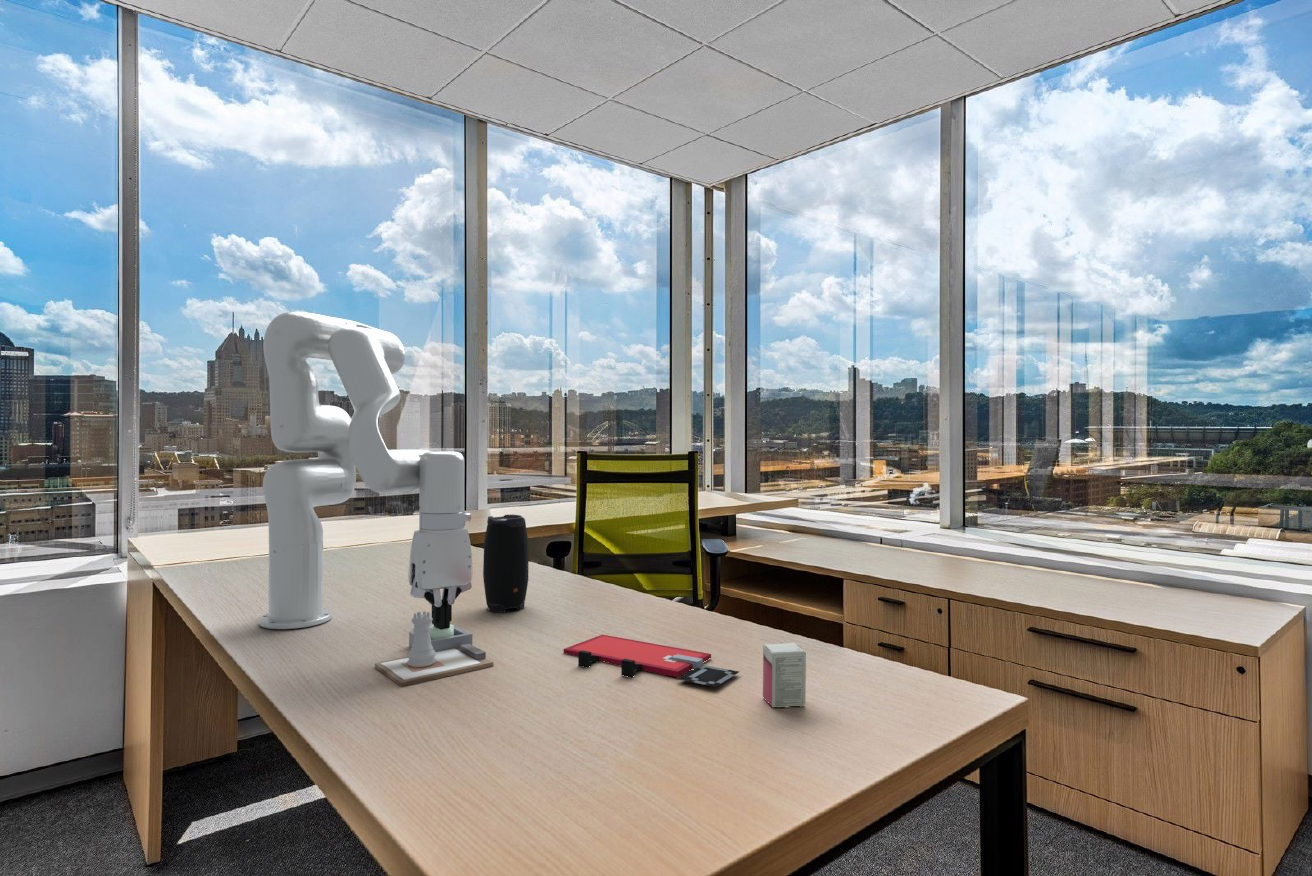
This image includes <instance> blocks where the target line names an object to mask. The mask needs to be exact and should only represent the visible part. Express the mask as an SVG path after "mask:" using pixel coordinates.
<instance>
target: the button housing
mask: <svg viewBox="0 0 1312 876" xmlns="http://www.w3.org/2000/svg"><path fill="white" fill-rule="evenodd" d="M450 624H451V623H450ZM451 625H453V626H454V636H450V637H445V638H440V639H434V640H431V645H432V646H433V649H434V650H435V652H439V651H444V650H449V649H454V648H460V645H465V644H471V645H473V633H471V632H469V631H467V630H465V629H463V628H461V627H458V626H457V625H455V624H453V623H452V624H451ZM408 635H409V636H408V646H409V647H410V648H411V647H412V645H413V640H414V631H413V630H412V631H411V630H410V631H409V633H408Z"/></svg>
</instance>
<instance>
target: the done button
mask: <svg viewBox="0 0 1312 876" xmlns="http://www.w3.org/2000/svg"><path fill="white" fill-rule="evenodd" d="M453 625H454V624H453ZM453 625H451V623H450V628H447V629H446V628H444V629H442V630H440V629H438V628H436V627H434V624H430V627H431V630H430V639H431V640H434V639H440V638H445V637H450V636H454V626H453Z"/></svg>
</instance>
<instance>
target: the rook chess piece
mask: <svg viewBox="0 0 1312 876" xmlns="http://www.w3.org/2000/svg"><path fill="white" fill-rule="evenodd" d="M432 620H433V618H432V615H431V612H430V611H422V613H421V611H418V612H414V613H413V617H412V619H411V622H412V624H413V626H414V627H413V629H412V631H414V640H413V645H412V648H411V647H410V651H409V652H408V653H407V657H408V658H409V660H408V661H407V663H408V665H409V666H411V667H414V668H424V667H429V666H431V665H433V664H434V663H435V662H436V658H435V655H436V653H435V650H434V649H433V646H432V645H431V639H430V630H431V627H430V626H431V624H432Z"/></svg>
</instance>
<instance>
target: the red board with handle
mask: <svg viewBox="0 0 1312 876" xmlns="http://www.w3.org/2000/svg"><path fill="white" fill-rule="evenodd" d="M564 653H567V654H566V655H569V654H570V655H569V656H573V655H575V656H574V657H577V658H578V663H577V664H578V667H581V666H584V667H583V668H585V667H587V668H586V669H589V668H590V667H589V666H591V667H592V662H594V663H595V662H596V661H599V662H600V661H605V662H609V663H612V664H611V665H614V664H616V665H615V666H618V665H621V666H620V667H621V671H620V672H621V673H620V674H621V675H624V676H628V677H631V678H630V679H632V677H633V676H634V675H636V674H635V673H636V671H643V670H646V671H645V672H647V671H649V673H652V672H654V674H657V673H658V675H663V676H667V675H669V676H668V677H672V676H674V677H673V678H677V677H678V678H677V680H680V681H686V682H690V683H695V684H701V685H705V686H710V687H715V688H716V687H718V686H720V685H721V684H723V683H724V682H725V681H727V680H729V679H730V678H733V677H734V676H735V675H737V674H739V673H740V671H739V670H733V669H727V668H722V667H716V666H710V665H706V664H703V662H704V661H706V660H708V659H709V658H711V659H712V653H708V652H703V651H696V650H691V649H687V648H686V649H685V648H681V647H676V646H675V647H674V646H669V645H663V644H657V643H653V642H646V641H640V640H636V639H635V640H634V639H630V638H624V637H618V636H612V635H608V634H600V635H596V636H595V637H592V638H589V639H587V640H584V641H580V642H579V643H576V644H573V645H571V646H568V647H565V648H563V654H564ZM605 662H604V663H605ZM609 663H608V664H609ZM588 667H589V668H588ZM691 669H694V670H691ZM689 670H691V671H689ZM688 671H689V672H688ZM686 672H687V673H686ZM684 673H685V674H684ZM621 675H620V676H621ZM680 675H682V676H680ZM624 676H623V677H624ZM679 676H680V677H679ZM628 677H627V678H628ZM633 678H634V677H633Z"/></svg>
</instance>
